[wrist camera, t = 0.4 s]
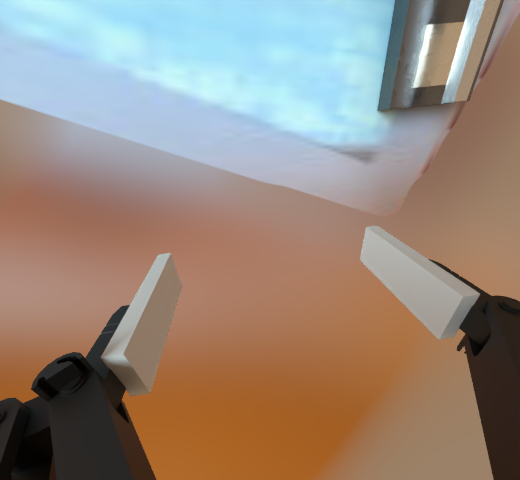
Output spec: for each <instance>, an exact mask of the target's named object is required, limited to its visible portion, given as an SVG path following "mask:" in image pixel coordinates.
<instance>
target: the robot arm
mask: <svg viewBox="0 0 520 480" xmlns="http://www.w3.org/2000/svg"><path fill="white" fill-rule="evenodd" d="M360 260H361V262H362V263H363V264H365V266H366V267H367V268H369V270H370V271H371V272H372V273H373V274H374V275H375V276H376V277H377V278H378V279H379V280H380V281H382V283H383V284H384V285H385V286H386V287H387V288H388V289H389V290H390V291H391V292H392V293H393V294H394V295H395V296H396V297H397V298H398V299H399V300H400V301H401V302H402V303H403V304H404V305H405V306H406V307H407V308H408V309H409V310H410V311H411V312H412V313H413V314H414V315H415V316H416V317H417V318H418V319H419V320H420V321H421V322H422V323H423V324H424V325H425V326H426V327H427V328H428V329H429V330H430V331H431V332H432V333H433V334H434V335H435V336H436V337H437V338H438V339H439V340H440V339H446V338H451V337H454V336H455V334H456V333H457V331H458V329H459V328H460V329H461V330H462V331H463V332H464V333H466V334H465V336H464V337H463V339H462V340H461V342H460V343H459V345H458V346H457V351H460V350H461V349H462V347H464V346H465V350H466V351H465V352H464V353H466V354H467V359H468V364H469V368H470V373H471V377H472V382H473V387H474V391H475V396H476V400H477V405H478V410H479V414H480V419H481V423H482V427H483V433H484V437H485V442H486V446H487V450H488V455H489V460H490V465H491V469H492V474H493V478H494V480H520V302H519V301H517V300H515V299H512V298H508V297H504V296H491V295H489V294H487V293H486V292H484V291H483V290H481V289H480V288H478V287H477V286H475V285H473V284H472V283H470V282H469V281H467V280H466V279H464V278H462V277H459V275H458V274H456V273H455V272H453V271H451V270H450V269H448V268H447V267H445V266H443V265H442V264H440V263H438V262H435V261H433V260H430V259H427V258H425V257H424V256H422V255H421V254H419V253H418V252H416V251H415V250H413V249H412V248H410V247H409V246H407V245H406V244H404V243H402V242H401V241H400V240H398V239H397V238H395V237H393V236H392V235H391V234H389V233H387V232H386V231H384V230H383V229H382V228H380V227H378V226H377V225H376V226H369V227H366V231H365V236H364V241H363V246H362V251H361V256H360ZM181 289H182V283H181V281H180V278H179V275H178V272H177V269H176V267H175V264H174V261H173V258H172V255H171V253H167V254H160V255H158V256H157V258H156V260H155V262H154V263H153V265H152V267H151V269H150V271H149V272H148V274H147V276H146V278H145V280H144V281H143V283H142V285H141V287H140V288H139V290H138V292H137V294H136V296H135V298H134V299H133V301H132V303H131V304H130V305H127V306H122V307H120V308H119V310H117V311H116V312H115V313H114V314H113V315H112V317H111V318H110V320H109V321H108V323H107V325H106V327H105V328H104V329H103V331H102V334H101V335H100V336H99V338H98V339H97V340H96V342H95V344H94V346H93V347H92V348H91V350H90V352H89V353H88V355H87V356H86V358H84V357H83V355H82V354H81V353H77V352H73V353H69V354H65V355H63V356H61V357H59V358H57V359H56V360H54V361H53V362H52V363H50V364H49V365H47V366H46V367H45V368H44V369H43V370H42V371H41V372H40V373H39V374H38V376H37V377H36V379H35V380H34V382H33V384H32V388H31V389H32V390H33V391H34V392H35V393H36V394H38V395H39V397H36V398H34V399H32V400H29V401H27V402H25V403H22V402H21V401H19V400H18V399H16V398H7V399H5V400H2V401H0V480H156V478H155V475H154V473H153V471H152V469H151V466H150V463H149V461H148V459H147V456H146V454H145V452H144V449H143V447H142V445H141V442H140V440H139V437H138V435H137V433H136V430H135V428H134V426H133V423H132V421H131V418H130V416H129V414H128V411H127V409H126V407H125V404H124V403H123V401H122V397H123V395H124V393H125V390H127V391H128V393H129V394H130V395H131V396H136V395H141V394H147V393H150V392H151V389H152V385H153V382H154V379H155V375H156V372H157V368H158V365H159V362H160V358H161V355H162V352H163V349H164V345H165V342H166V339H167V335H168V332H169V329H170V325H171V322H172V318H173V315H174V311H175V309H176V305H177V302H178V298H179V295H180V292H181Z"/></svg>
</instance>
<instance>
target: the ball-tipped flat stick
mask: <svg viewBox="0 0 520 480" xmlns="http://www.w3.org/2000/svg"><path fill="white" fill-rule="evenodd" d="M500 1H501V0H471V1H470V4H469V8H468V11H467V15H466V18H465V22H464V25H463V29H462V32H461V35H460V39H459V42H458V46H457V49H456V53H455V56H454V60H453V63H452V67H451V70H450V73H449V77H448V80H447V84H446V87H445V91H444V94H443V98H442V101H441V103H450V102H459V101H467V98H468V95H469V92H470V89H471V86H472V83H473V80H474V77H475V74H476V71H477V69H478V66H479V63H480V60H481V57H482V54H483V51H484V48H485V45H486V42H487V39H488V36H489V33H490V30H491V27H492V24H493V21H494V18H495V16H496V13H497V10H498V7H499V4H500Z"/></svg>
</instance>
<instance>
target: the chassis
mask: <svg viewBox="0 0 520 480" xmlns="http://www.w3.org/2000/svg"><path fill="white" fill-rule="evenodd" d="M470 1H471V0H395V6H394V13H393V19H392V25H391V31H390V37H389V43H388V49H387V56H386V62H385V68H384V74H383V80H382V86H381V92H380V99H379V105H378V111H379V110H388V109H398V108H407V107H416V106H425V105H435V104H444V103H441V101H442V98H443V94H444V91H445V87H446V84H447V80H448V77H449V73H450V70H451V67H452V63H453V60H454V56H455V53H456V49H457V46H458V42H459V39H460V35H461V32H462V29H463V25H464V22H465V18H466V15H467V11H468V8H469V4H470ZM503 1H504V0H501V1H500V4H499V7H498V10H497V13H496V16H495V18H494V21H493V24H492V27H491V30H490V33H489V36H488V39H487V42H486V45H485V48H484V51H483V54H482V57H481V60H480V63H479V66H478V69H477V71H476V74H475V77H474V80H473V83H472V86H471V89H470V92H469V95H468V98H467V101H469V100H470V97H471V94H472V91H473V88H474V85H475V82H476V79H477V76H478V74H479V71H480V68H481V65H482V62H483V59H484V56H485V53H486V50H487V47H488V45H489V42H490V39H491V36H492V33H493V30H494V27H495V24H496V21H497V18H498V15H499V13H500V10H501V7H502V4H503ZM459 102H462V101H459ZM450 103H453V102H450Z"/></svg>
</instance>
